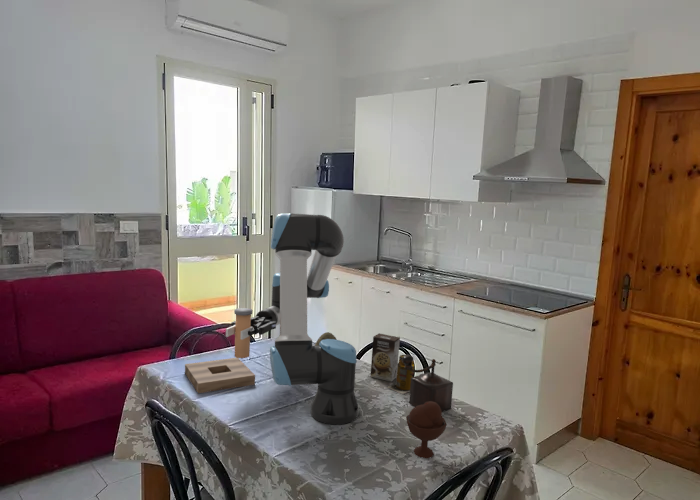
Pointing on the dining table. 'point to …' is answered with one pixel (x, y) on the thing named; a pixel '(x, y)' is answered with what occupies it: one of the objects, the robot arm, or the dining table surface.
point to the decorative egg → (325, 337)
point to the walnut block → (219, 375)
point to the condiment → (402, 378)
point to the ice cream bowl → (426, 426)
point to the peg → (241, 324)
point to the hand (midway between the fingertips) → (234, 334)
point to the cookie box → (385, 357)
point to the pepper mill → (428, 386)
